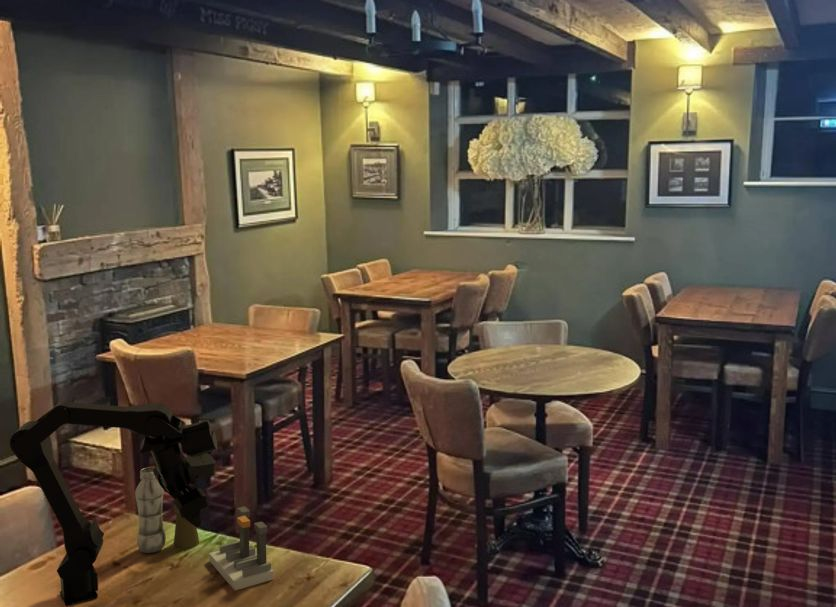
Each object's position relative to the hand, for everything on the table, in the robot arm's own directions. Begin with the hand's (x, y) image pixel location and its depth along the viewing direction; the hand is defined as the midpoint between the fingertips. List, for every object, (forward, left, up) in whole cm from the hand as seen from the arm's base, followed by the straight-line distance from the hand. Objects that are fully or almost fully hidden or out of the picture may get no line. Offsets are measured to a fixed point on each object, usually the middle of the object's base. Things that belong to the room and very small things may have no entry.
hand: (191, 515), depth 178 cm
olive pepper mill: (+4, +16, -14) cm, 22 cm away
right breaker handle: (+13, -9, -12) cm, 19 cm away
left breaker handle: (+13, +1, -12) cm, 17 cm away
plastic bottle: (-4, +17, -14) cm, 23 cm away
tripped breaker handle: (+11, -4, -12) cm, 16 cm away
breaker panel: (+10, -4, -14) cm, 17 cm away
